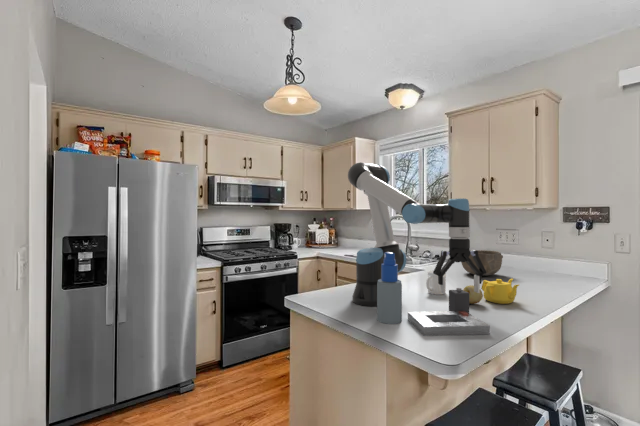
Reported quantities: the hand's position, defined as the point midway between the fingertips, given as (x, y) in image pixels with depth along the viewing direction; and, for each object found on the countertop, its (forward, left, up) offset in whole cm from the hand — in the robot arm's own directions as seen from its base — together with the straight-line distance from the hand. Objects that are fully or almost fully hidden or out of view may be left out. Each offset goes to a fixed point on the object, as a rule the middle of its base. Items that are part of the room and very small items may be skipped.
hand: (460, 292), depth 129 cm
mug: (+4, +33, -9) cm, 35 cm away
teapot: (+28, +17, -9) cm, 34 cm away
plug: (0, 0, -9) cm, 9 cm away
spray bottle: (-29, -5, -9) cm, 31 cm away
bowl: (+53, +77, -9) cm, 94 cm away
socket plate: (-11, -13, -9) cm, 19 cm away
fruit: (+13, +14, -9) cm, 21 cm away
